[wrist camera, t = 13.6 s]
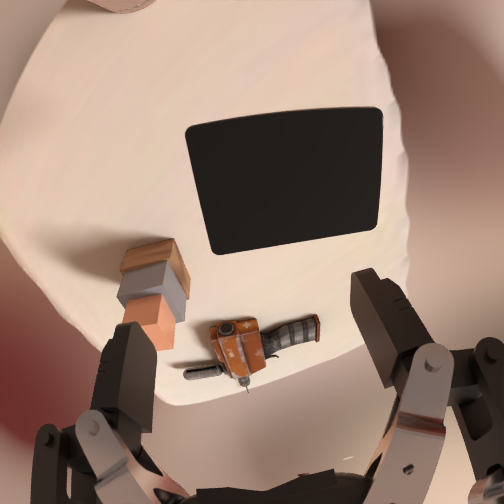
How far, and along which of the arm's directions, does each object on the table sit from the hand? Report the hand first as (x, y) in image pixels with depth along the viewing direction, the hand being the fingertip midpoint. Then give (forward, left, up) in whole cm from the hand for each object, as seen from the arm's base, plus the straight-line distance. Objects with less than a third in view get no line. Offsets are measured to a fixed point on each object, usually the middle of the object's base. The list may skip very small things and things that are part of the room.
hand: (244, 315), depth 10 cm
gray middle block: (+17, -15, -25) cm, 34 cm away
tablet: (+9, +8, -31) cm, 33 cm away
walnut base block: (+17, -15, -30) cm, 38 cm away
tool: (+46, -7, -31) cm, 56 cm away
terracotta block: (+17, -15, -20) cm, 30 cm away
